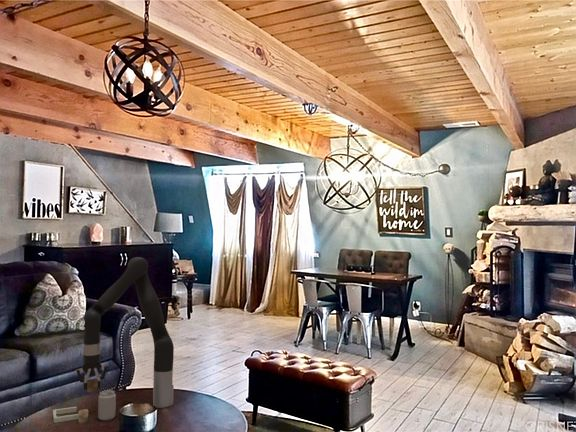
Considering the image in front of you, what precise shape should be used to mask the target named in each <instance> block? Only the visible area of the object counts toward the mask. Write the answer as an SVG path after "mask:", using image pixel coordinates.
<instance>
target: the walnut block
mask: <svg viewBox="0 0 576 432" xmlns="http://www.w3.org/2000/svg"><path fill="white" fill-rule="evenodd" d="M98 390H99V389H98V381H97V378H92V379H87V391H86V392H87V393H92V392H98Z"/></svg>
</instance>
